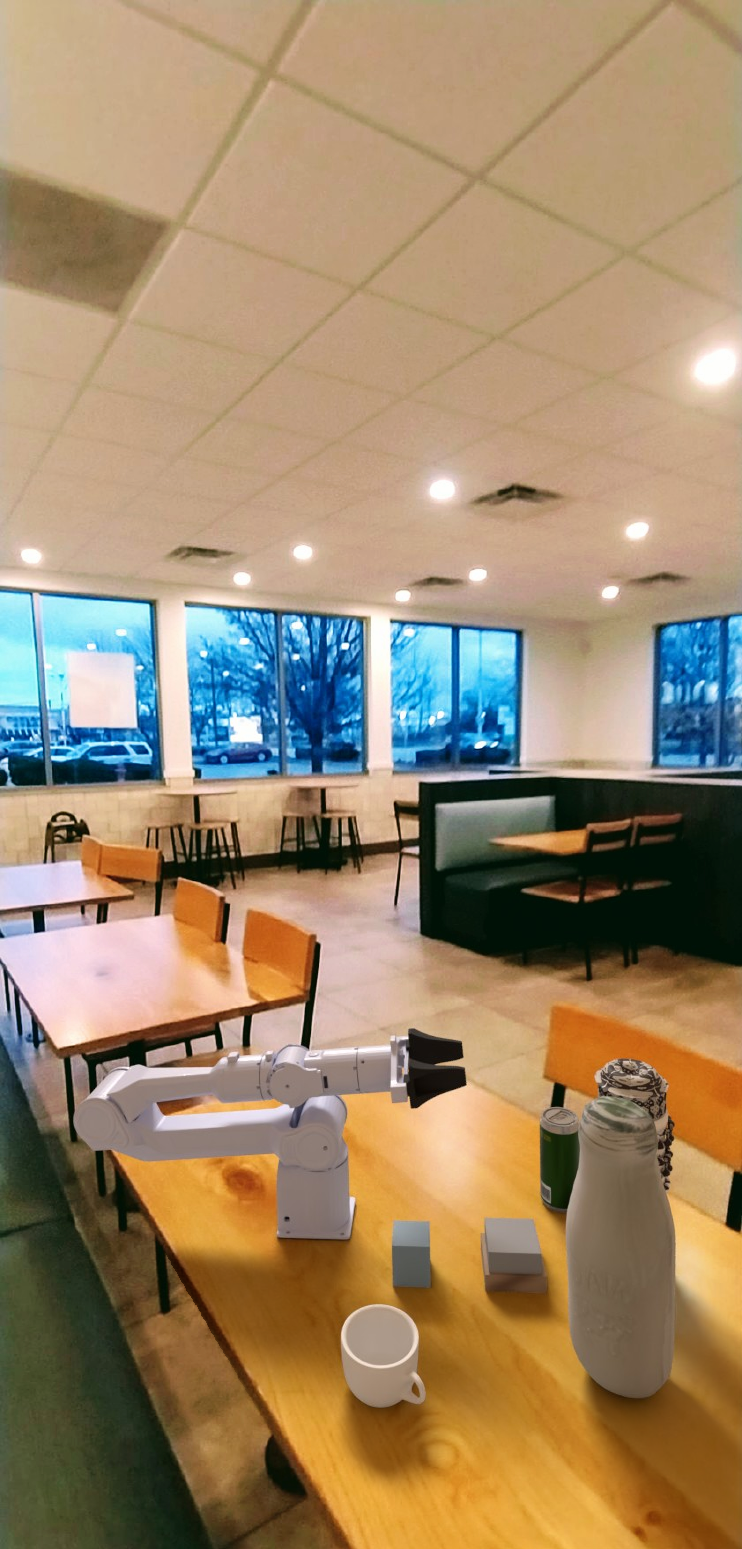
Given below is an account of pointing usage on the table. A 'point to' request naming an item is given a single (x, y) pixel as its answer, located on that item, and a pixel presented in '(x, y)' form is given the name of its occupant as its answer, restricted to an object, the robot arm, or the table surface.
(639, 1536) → the table surface
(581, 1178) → the glass bottle
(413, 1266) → the slate blue block
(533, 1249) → the grey middle block
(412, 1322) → the teacup
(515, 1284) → the walnut base block
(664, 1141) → the decorative candle
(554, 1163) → the beer can
